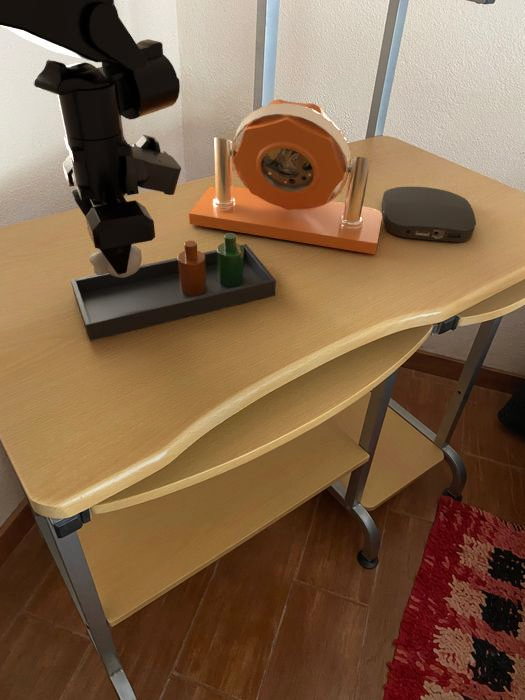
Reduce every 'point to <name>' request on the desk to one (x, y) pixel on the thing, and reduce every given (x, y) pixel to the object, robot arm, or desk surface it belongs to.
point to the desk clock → (290, 181)
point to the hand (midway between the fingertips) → (116, 260)
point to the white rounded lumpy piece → (105, 267)
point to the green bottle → (230, 261)
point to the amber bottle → (192, 270)
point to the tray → (162, 295)
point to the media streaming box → (427, 214)
